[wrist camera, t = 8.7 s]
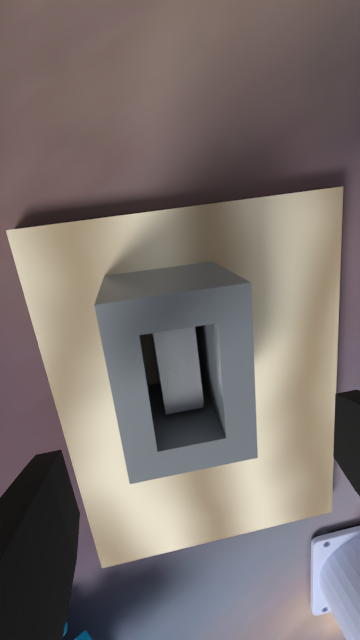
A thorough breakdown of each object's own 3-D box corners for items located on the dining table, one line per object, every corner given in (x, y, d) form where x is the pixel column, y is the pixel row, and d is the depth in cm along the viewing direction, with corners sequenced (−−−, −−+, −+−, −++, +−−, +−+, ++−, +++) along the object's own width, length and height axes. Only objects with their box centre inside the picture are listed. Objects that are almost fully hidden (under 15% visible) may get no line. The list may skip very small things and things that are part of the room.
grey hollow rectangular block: (212, 261, 15) (251, 282, 11) (222, 392, 18) (257, 457, 13) (104, 275, 15) (94, 305, 10) (128, 409, 17) (129, 484, 12)
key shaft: (180, 301, 16) (194, 325, 12) (188, 369, 17) (204, 406, 14) (146, 307, 16) (152, 332, 12) (157, 375, 17) (165, 414, 13)
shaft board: (330, 188, 16) (343, 186, 15) (323, 499, 23) (331, 511, 22) (13, 229, 15) (6, 230, 14) (103, 552, 21) (102, 568, 20)
